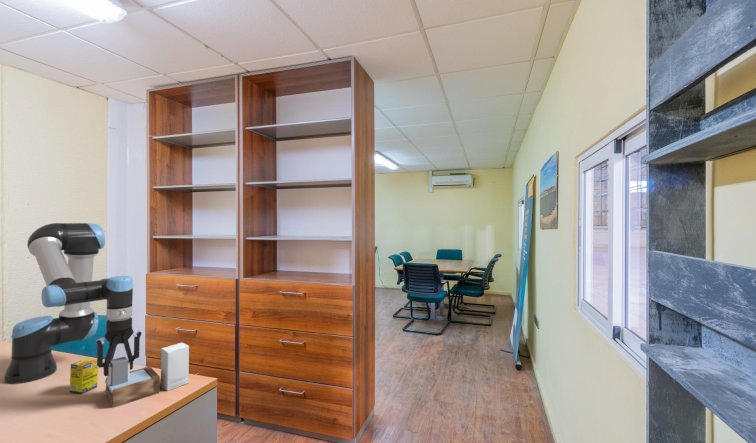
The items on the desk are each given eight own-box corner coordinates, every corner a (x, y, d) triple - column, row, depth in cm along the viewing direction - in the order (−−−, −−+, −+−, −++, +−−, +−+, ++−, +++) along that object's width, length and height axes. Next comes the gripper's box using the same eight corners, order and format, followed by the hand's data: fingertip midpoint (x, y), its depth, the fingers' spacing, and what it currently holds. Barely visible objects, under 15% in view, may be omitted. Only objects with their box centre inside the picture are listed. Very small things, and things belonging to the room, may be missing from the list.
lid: (143, 371, 132) (143, 349, 132) (151, 380, 125) (151, 357, 125) (105, 382, 123) (105, 358, 123) (111, 392, 116) (111, 367, 116)
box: (149, 381, 134) (150, 366, 134) (159, 392, 126) (159, 376, 126) (105, 394, 124) (106, 377, 124) (112, 407, 115) (113, 389, 115)
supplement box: (81, 394, 123) (82, 365, 124) (69, 392, 125) (69, 363, 125) (98, 386, 129) (98, 359, 129) (85, 385, 130) (86, 357, 131)
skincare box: (181, 379, 137) (182, 341, 137) (189, 383, 133) (190, 345, 133) (159, 386, 130) (160, 347, 130) (166, 392, 126) (167, 351, 127)
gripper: (89, 326, 112) (88, 394, 112) (150, 315, 126) (149, 376, 126) (86, 321, 117) (84, 386, 117) (145, 311, 131) (144, 370, 130)
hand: (118, 381), depth 121 cm, fingers closed on lid, 5 cm apart
